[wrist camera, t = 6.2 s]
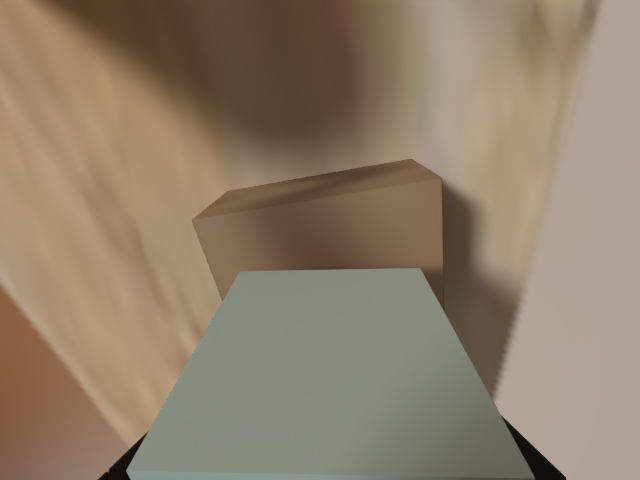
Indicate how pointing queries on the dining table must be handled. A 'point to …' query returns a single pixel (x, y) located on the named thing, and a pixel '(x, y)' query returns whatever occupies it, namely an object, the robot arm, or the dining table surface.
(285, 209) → the tan square slab
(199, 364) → the sage cube
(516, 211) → the dining table surface
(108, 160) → the dining table surface
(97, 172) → the dining table surface
